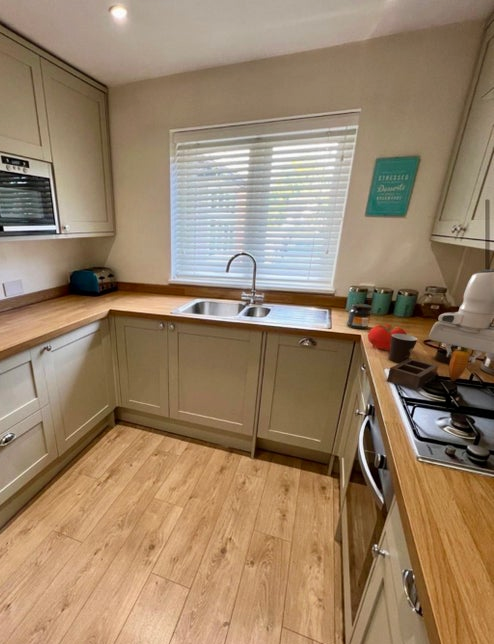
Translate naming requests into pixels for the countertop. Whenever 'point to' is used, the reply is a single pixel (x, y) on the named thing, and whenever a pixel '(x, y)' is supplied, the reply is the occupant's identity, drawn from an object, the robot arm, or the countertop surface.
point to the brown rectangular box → (412, 374)
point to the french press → (442, 354)
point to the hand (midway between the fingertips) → (459, 359)
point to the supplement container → (359, 316)
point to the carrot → (458, 363)
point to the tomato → (383, 336)
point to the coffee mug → (401, 347)
